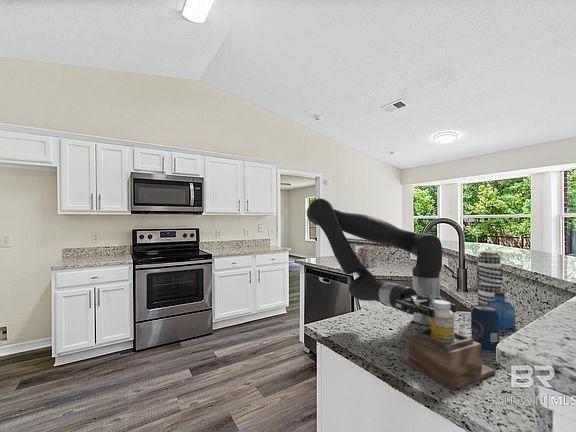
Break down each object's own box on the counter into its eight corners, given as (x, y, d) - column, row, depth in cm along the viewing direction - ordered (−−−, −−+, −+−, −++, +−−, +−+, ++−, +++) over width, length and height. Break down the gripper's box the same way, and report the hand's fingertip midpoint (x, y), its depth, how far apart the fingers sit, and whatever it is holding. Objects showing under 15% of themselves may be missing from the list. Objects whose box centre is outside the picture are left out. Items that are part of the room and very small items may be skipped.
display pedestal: (437, 347, 85) (437, 321, 85) (495, 373, 70) (494, 341, 70) (397, 359, 78) (397, 329, 78) (452, 390, 64) (451, 354, 64)
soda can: (466, 343, 88) (465, 304, 88) (487, 342, 88) (486, 303, 89) (483, 353, 81) (482, 311, 81) (506, 352, 82) (505, 310, 82)
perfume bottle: (485, 323, 105) (485, 290, 105) (497, 321, 107) (496, 289, 107) (503, 329, 99) (502, 295, 99) (515, 327, 101) (514, 293, 101)
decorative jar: (365, 264, 247) (365, 244, 248) (377, 266, 238) (377, 244, 239) (357, 266, 239) (357, 245, 240) (369, 267, 231) (368, 245, 231)
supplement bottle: (433, 333, 78) (433, 298, 78) (456, 338, 75) (455, 301, 75) (428, 339, 74) (428, 302, 74) (452, 345, 71) (451, 306, 71)
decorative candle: (509, 316, 112) (507, 253, 113) (483, 314, 114) (482, 252, 115) (497, 309, 121) (495, 250, 122) (473, 307, 123) (472, 250, 124)
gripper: (379, 286, 86) (425, 300, 71) (413, 282, 92) (462, 293, 77) (380, 311, 86) (426, 330, 71) (413, 305, 92) (462, 321, 77)
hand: (444, 311), depth 74 cm, fingers open, 8 cm apart
